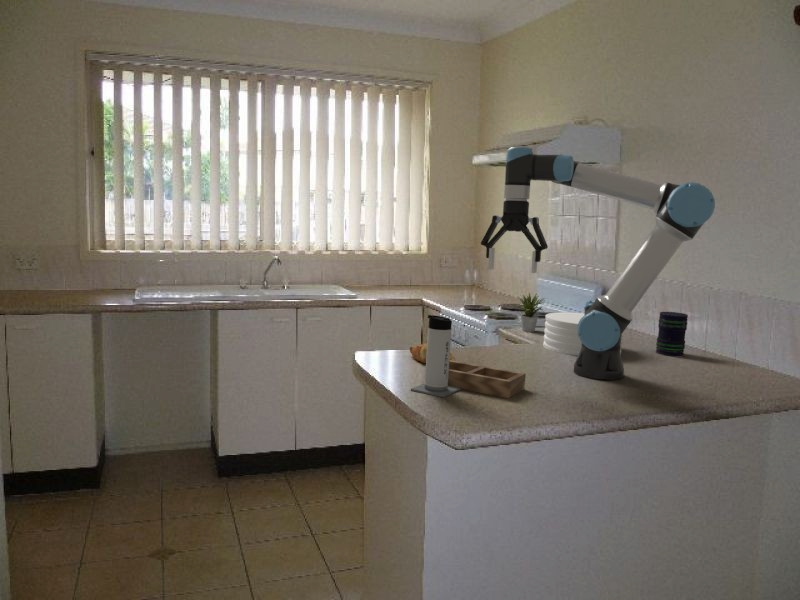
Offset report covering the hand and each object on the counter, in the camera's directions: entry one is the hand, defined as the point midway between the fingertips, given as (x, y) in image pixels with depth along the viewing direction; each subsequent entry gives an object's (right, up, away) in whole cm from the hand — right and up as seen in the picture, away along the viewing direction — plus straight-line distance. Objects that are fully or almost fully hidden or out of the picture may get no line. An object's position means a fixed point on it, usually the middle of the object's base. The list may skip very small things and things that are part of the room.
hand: (512, 271), depth 212 cm
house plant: (+20, -22, +78) cm, 84 cm away
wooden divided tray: (-13, -33, -15) cm, 38 cm away
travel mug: (-24, -33, -22) cm, 47 cm away
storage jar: (+66, -29, +47) cm, 86 cm away
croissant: (-24, -29, +12) cm, 39 cm away
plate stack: (+33, -27, +48) cm, 64 cm away
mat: (-24, -33, -22) cm, 46 cm away
